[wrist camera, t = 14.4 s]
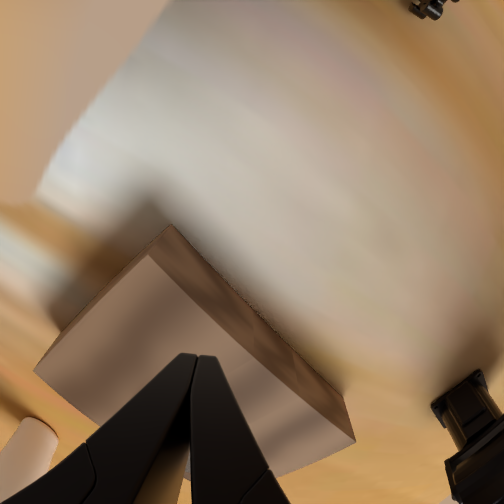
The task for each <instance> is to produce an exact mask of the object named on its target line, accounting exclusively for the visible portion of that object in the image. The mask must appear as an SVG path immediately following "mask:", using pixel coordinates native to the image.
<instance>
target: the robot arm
mask: <svg viewBox="0 0 504 504" xmlns="http://www.w3.org/2000/svg"><path fill="white" fill-rule="evenodd" d="M431 409H432V411H433V412H434V414H435V415H436V417H437V418H438V420H439V421H440V423H441V425H442V426H443V428H447V429H448V431H449V433H450V435H451V437H452V439H453V441H454V443H455V445H456V447H457V449H458V451H459V452H457V453H456V454H455V455H453V456H452V457H451V458H448V459H447V460H445V461H444V463H445V466H446V467H445V470H446V473H447V477H448V481H449V485H450V489H451V495H452V499H453V500H454V501H457V502H458V503H459V504H504V414H502V412H501V411H500V409H499V408H498V406H497V405H496V403H495V402H494V400H493V399H492V397H491V396H490V395H489V392H488V389H487V385H486V382H485V378H484V375H483V372H482V371H481V370H480V369H479V370H477V371H475V372H474V373H473V374H472V375H471V376H469V377H468V378H467V379H465V380H464V381H463V382H462V383H460V384H459V385H458V386H456V387H455V388H454V389H452V390H451V391H450V392H448V393H447V394H445V395H444V396H443V397H441V398H440V399H438V400H437V401H436V402H434V403H433V404H432V405H431ZM189 453H190V472H191V497H192V504H291V503H290V502H289V500H288V498H287V497H286V495H285V493H284V492H283V490H282V488H281V487H280V485H279V483H278V481H277V480H276V478H275V476H274V474H273V472H272V470H270V469H269V465H268V463H267V461H266V459H265V457H264V455H263V453H262V451H261V449H260V447H259V445H258V443H257V441H256V439H255V437H254V435H253V433H252V431H251V429H250V427H249V425H248V423H247V421H246V419H245V417H244V415H243V413H242V411H241V408H240V406H239V404H238V402H237V400H236V398H235V396H234V394H233V391H232V389H231V387H230V385H229V383H228V380H227V378H226V376H225V374H224V371H223V369H222V367H221V365H220V362H219V360H218V358H217V357H216V356H211V355H199V357H198V356H197V355H196V354H191V353H179V354H178V355H177V356H176V357H175V358H174V359H173V360H172V361H171V362H170V363H169V364H167V365H166V366H165V367H164V368H163V369H162V370H161V371H160V372H159V373H158V374H157V375H156V376H155V377H154V378H153V379H152V380H151V381H149V382H148V383H147V384H146V385H145V386H144V387H143V388H142V389H141V390H140V391H139V392H138V393H137V394H136V395H134V396H133V397H132V398H131V399H130V400H129V401H128V402H127V403H126V404H125V405H124V406H123V407H122V408H120V409H119V410H118V411H117V412H116V413H115V414H114V415H113V416H112V417H111V418H110V419H109V420H107V421H106V422H105V423H104V424H103V425H102V426H101V427H100V428H99V429H98V430H97V431H95V432H94V433H93V434H92V435H91V436H90V437H89V438H88V439H87V440H86V443H82V444H81V445H80V446H79V447H78V448H76V449H75V450H74V451H73V452H72V453H71V454H70V455H68V456H67V457H66V458H65V459H64V460H62V461H61V462H60V463H59V464H58V465H56V466H55V467H54V468H53V469H51V470H50V471H48V472H47V473H46V474H44V475H43V476H41V477H40V478H38V479H37V480H36V481H34V482H33V483H31V484H30V485H28V486H26V487H25V488H23V489H22V490H20V491H19V492H17V493H16V494H14V495H12V496H11V497H9V498H8V499H6V500H4V501H3V502H1V503H0V504H177V501H178V497H179V493H180V489H181V485H182V481H183V477H184V473H185V469H186V465H187V461H188V457H189Z"/></svg>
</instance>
